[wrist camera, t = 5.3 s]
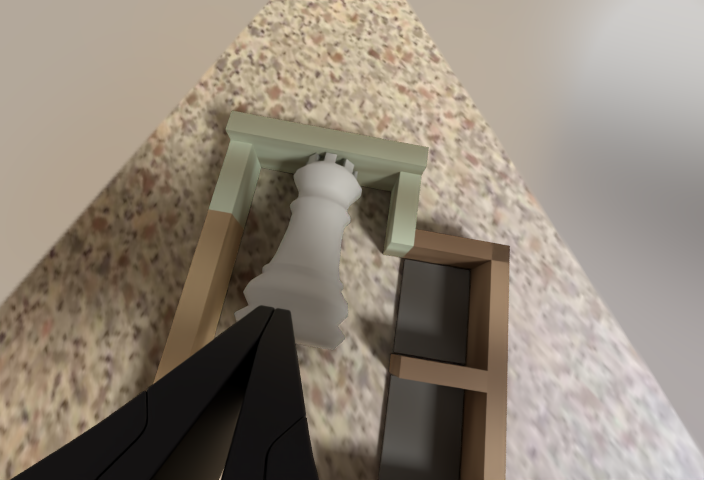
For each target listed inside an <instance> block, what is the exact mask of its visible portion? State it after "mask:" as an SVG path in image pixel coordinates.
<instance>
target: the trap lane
mask: <svg viewBox="0 0 704 480" xmlns="http://www.w3.org/2000/svg"><path fill="white" fill-rule="evenodd" d="M226 131H227V133H228V136H229V138H230V143H229V147H228V150H227V153H226V156H225V159H224V162H223V165H222V169H221V172H220V175H219V178H218V181H217V184H216V187H215V191H214V194H213V197H212V200H211V203H210V206H209V209H208V213H207V216H206V219H205V222H204V225H203V228H202V231H201V235H200V238H199V241H198V244H197V247H196V250H195V253H194V257H193V260H192V263H191V266H190V269H189V272H188V275H187V279H186V282H185V285H184V288H183V291H182V294H181V297H180V301H179V304H178V307H177V310H176V313H175V316H174V319H173V323H172V326H171V329H170V332H169V335H168V338H167V341H166V345H165V348H164V351H163V354H162V357H161V360H160V363H159V366H158V370H157V373H156V376H155V379H154V382H153V384H154V383H155V382H156V381H158V380H159V379H161V378H162V377H163V376H165V375H166V374H167V373H169V372H170V371H171V370H173V369H174V368H175V367H177V366H178V365H179V364H181V363H182V362H183V361H185V360H186V359H187V358H189V357H190V356H192V355H193V354H194V353H196V352H197V351H198V350H200V349H201V348H202V347H204V346H205V345H206V344H208V343H209V342H210V341H212V340H213V339H214V336H215V332H216V329H217V325H218V321H219V318H220V314H221V311H222V307H223V303H224V300H225V296H226V293H227V289H228V285H229V282H230V278H231V275H232V271H233V267H234V264H235V260H236V257H237V253H238V249H239V246H240V242H241V239H242V235H243V231H244V228H245V224H246V221H247V217H248V213H249V210H250V206H251V203H252V199H253V195H254V192H255V188H256V185H257V181H258V177H259V174H260V170H261V168H266V169H271V170H277V171H282V172H287V173H293V174H295V173H296V171H297V170H298V169H300V168H302V167H304V166H305V165H306V162H308V161H309V157H310V156H312V155H314V154H316V153H317V154H318V155H319V156H320V160H319V161H324V159H325V156H326V153H331V154H337V157H336V161H335V163H336V164H338V165H341V166H343V162H344V161H345V160H346V159H348V160H349V161H350V162H351V163H352V164H354V168H353V171H358V173H357V182H358V184H359V186H364V187H369V188H375V189H380V190H386V191H391V199H390V206H389V213H388V221H387V228H386V235H385V242H384V249H383V254H384V255H389V256H395V257H401V258H406V259H405V260H404V265H403V274H402V282H401V291H400V299H399V308H398V316H397V325H396V333H395V342H394V350H393V352H397V353H403V354H409V355H415V356H421V357H427V358H432V359H438V360H444V361H450V362H456V363H462V364H465V366H460V365H454V364H448V363H443V362H437V361H431V360H425V359H419V358H413V357H407V356H401V355H396V354H391V357H390V365H389V373H391V374H393V375H391V376H390V384H389V392H388V401H387V409H386V418H385V426H384V435H383V443H382V452H381V460H380V469H379V477H378V480H505V473H506V418H507V363H508V308H509V254H510V246H507V245H502V244H496V243H491V242H485V241H480V240H474V239H468V238H463V237H457V236H452V235H446V234H441V233H435V232H430V231H424V230H419V229H416V220H417V211H418V202H419V193H420V184H421V175H422V174H423V172H424V170H425V168H426V167H427V157H428V148H429V147H424V146H418V145H413V144H408V143H402V142H397V141H392V140H386V139H381V138H376V137H370V136H365V135H360V134H354V133H349V132H344V131H338V130H333V129H328V128H322V127H317V126H312V125H306V124H301V123H296V122H290V121H285V120H280V119H274V118H269V117H264V116H258V115H253V114H248V113H242V112H237V111H231V114H230V117H229V120H228V123H227V126H226ZM407 259H412V260H407ZM413 260H417V261H413ZM418 261H423V262H418ZM424 262H429V263H434V264H429V263H424ZM435 264H440V265H435ZM441 265H446V266H451V267H446V266H441ZM452 267H457V268H452ZM458 268H462V269H458ZM463 269H468V270H463ZM469 270H470V271H469ZM469 281H470V287H469ZM468 299H469V305H468ZM467 317H468V324H467ZM466 336H467V342H466ZM465 354H466V360H465ZM394 375H395V376H394ZM463 390H464V397H463ZM462 408H463V415H462ZM461 427H462V433H461ZM460 445H461V452H460ZM459 463H460V470H459Z"/></svg>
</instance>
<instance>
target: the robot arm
mask: <svg viewBox="0 0 704 480" xmlns="http://www.w3.org/2000/svg"><path fill="white" fill-rule="evenodd" d="M224 466H225V467H224ZM223 469H224V471H223ZM222 471H223V474H222V478H221V480H319V478H318V474H317V470H316V466H315V462H314V458H313V453H312V447H311V442H310V436H309V430H308V423H307V418H306V411H305V404H304V397H303V390H302V383H301V377H300V370H299V363H298V356H297V349H296V343H295V336H294V329H293V322H292V315H291V311H290V310H288V309H282V308H276V309H275V308H274V307H270V306H264V305H260V306H258V307H256V308H255V309H254V310H252V311H251V312H249V313H248V314H247V315H245V316H244V317H243V318H241V319H240V320H239V321H237V322H236V323H235V324H233V325H232V326H231V327H229V328H228V329H227V330H225V331H224V332H223V333H221V334H220V335H218V336H217V337H216V338H214V339H213V340H212V341H210V342H209V343H208V344H206V345H205V346H204V347H202V348H201V349H200V350H198V351H197V352H196V353H194V354H193V355H192V356H190V357H189V358H187V359H186V360H185V361H183V362H182V363H181V364H179V365H178V366H177V367H175V368H174V369H173V370H171V371H170V372H169V373H167V374H166V375H165V376H163V377H162V378H161V379H159V380H158V381H156V382H155V383H154V384H152V385H151V386H150V387H148V388H147V391H143V392H141V393H140V394H139V395H137V396H136V397H135V398H133V399H132V400H131V401H129V402H128V403H127V404H125V405H124V406H122V407H121V408H119V409H118V410H117V411H115V412H114V413H112V414H111V415H110V416H108V417H107V418H105V419H104V420H103V421H101V422H100V423H98V424H97V425H95V426H94V427H92V428H91V429H89V430H87V431H86V432H84V433H83V434H81V435H80V436H78V437H77V438H75V439H74V440H72V441H71V442H69V443H68V444H66V445H64V446H63V447H61V448H60V449H58V450H57V451H55V452H53V453H52V454H50V455H49V456H47V457H45V458H44V459H42V460H41V461H39V462H37V463H36V464H34V465H33V466H31V467H30V468H28V469H26V470H25V471H23V472H22V473H20V474H18V475H17V476H15V477H14V478H12V479H11V480H219V478H220V476H221V473H222Z"/></svg>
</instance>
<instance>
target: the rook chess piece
mask: <svg viewBox="0 0 704 480" xmlns="http://www.w3.org/2000/svg"><path fill="white" fill-rule="evenodd" d="M336 157H337V154H331V153H326V156H325V159H324V161H319V160H320V156H319V155H318V154H317V153H316V154H314V155H312V156H310V157H309V161H308V162H306V165H305V166H304V167H302V168H300V169H298V170H297V171H296V173H295V174H294V181H295V185H296V187H297V189H298V192H299V196H298V198H297V199H296V200H294V201H293V202H292V203H291V204H290V209H291V212H292V216H291V219H290V222H289V226H288V228H287V231H286V233H285V235H284V237H283V239H282V241H281V243H280V246H279V248H278V250H277V252H276V254H275V255H274V257H273V258H272V260H271V262H270V263H269V264H266V265H265V266H264V267H263V268H262V272H263V273H262V274H261V275H259V276H257V277H255V278H254V279H252V280H251V281H250V282H249V283H248V285H247V286H246V288H245V289H244V291H243V293H244V295H245V298H246V300H247V303H248V305H249V306H247V307H244V308H242V309H240V310H238V311H236V312H235V313H234V315H235V319H236V322H237V321H239V320H240V319H241V318H243V317H244V316H245V315H247V314H248V313H249V312H251V311H252V310H254V309H255V308H256V307H258V306H260V305H264V306H270V307H274V308H275V309H276V308H282V309H288V310H290V311H291V315H292V322H293V329H294V336H295V343H296V344H301V345H306V346H311V347H317V348H323V349H333V350H334V349H335V348H336V347H337V346H338V345H339V344H340V343H341V342H342V341H343V340H344V339H345V335H344V334H343V333H342V331H341V330H340V329H339V327H338V326H337V325H339V324H340V323H341V322H342V321H343V320H345V319H346V318H347V317H348V303H347V302H346V300H345V298H344V297H343V295H342V293H341V291H342V289H343V284H342V283H341V282H340V275H339V263H340V251H341V241H342V236H343V232H344V228H345V227H346V226H347V225H348V224H350V219H351V218H350V216H349V214H348V213H347V210H348V208H349V206H350V205H351V204H353V203H354V202H355V201H356V200H357V199H359V198H360V197H361V191H362V189H361V187H360V186H359V184H358V182H357V173H358V171H353V168H354V164H352V163H351V162H350V161H349V160H348V159H346V160H345V161H344V162H343V166H341V165H338V164H336V163H335V161H336Z"/></svg>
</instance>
